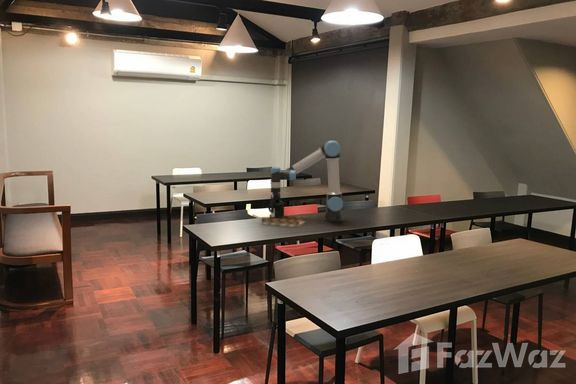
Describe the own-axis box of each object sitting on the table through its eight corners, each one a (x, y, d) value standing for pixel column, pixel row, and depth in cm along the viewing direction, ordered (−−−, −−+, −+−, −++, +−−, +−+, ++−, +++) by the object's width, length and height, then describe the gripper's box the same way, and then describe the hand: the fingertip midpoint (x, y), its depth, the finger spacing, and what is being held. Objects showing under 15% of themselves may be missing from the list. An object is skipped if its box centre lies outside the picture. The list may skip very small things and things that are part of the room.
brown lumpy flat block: (305, 223, 365) (305, 217, 365) (298, 227, 350) (298, 220, 350) (270, 220, 376) (270, 214, 375) (262, 224, 361) (262, 217, 361)
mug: (278, 219, 357) (278, 203, 355) (264, 216, 366) (264, 201, 364) (287, 217, 366) (287, 201, 364) (272, 214, 374) (272, 200, 372)
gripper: (276, 185, 374) (276, 212, 377) (265, 188, 353) (265, 217, 356) (285, 185, 371) (285, 213, 374) (274, 189, 350) (274, 218, 353)
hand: (275, 215), depth 365 cm, fingers closed on mug, 10 cm apart
